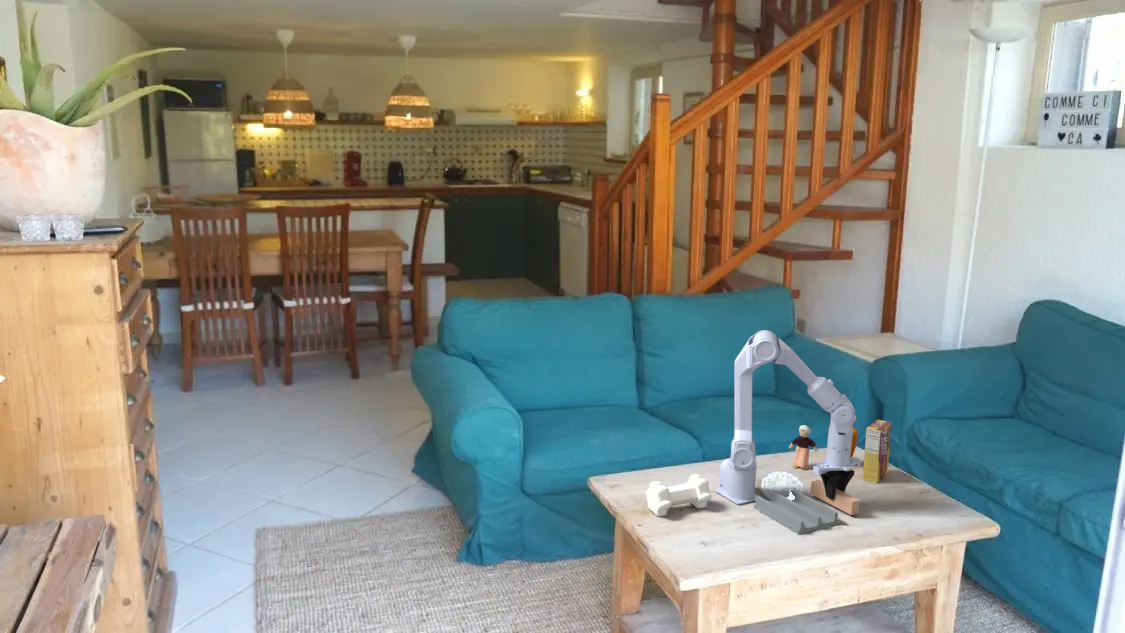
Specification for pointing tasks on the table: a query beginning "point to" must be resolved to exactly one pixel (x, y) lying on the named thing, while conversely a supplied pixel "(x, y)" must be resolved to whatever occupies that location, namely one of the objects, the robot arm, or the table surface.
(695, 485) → the white bone
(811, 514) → the rack
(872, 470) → the candy box
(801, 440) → the grandmother figurine
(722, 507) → the table surface
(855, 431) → the carrot
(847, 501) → the clay strip
